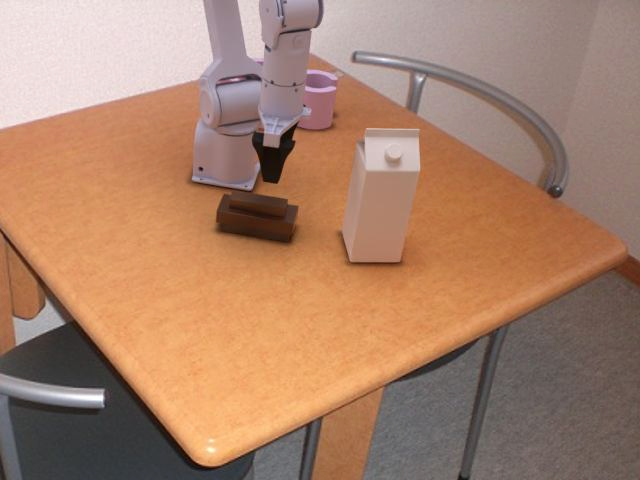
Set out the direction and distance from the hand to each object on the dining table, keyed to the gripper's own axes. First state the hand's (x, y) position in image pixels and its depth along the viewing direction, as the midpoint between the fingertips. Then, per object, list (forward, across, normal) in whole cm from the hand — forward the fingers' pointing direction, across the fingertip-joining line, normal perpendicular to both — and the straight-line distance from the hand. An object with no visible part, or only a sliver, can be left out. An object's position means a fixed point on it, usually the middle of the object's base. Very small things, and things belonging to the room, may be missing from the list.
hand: (275, 167), depth 123 cm
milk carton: (+10, -2, -15) cm, 18 cm away
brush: (+9, -2, +2) cm, 10 cm away
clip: (+10, +33, +5) cm, 35 cm away
